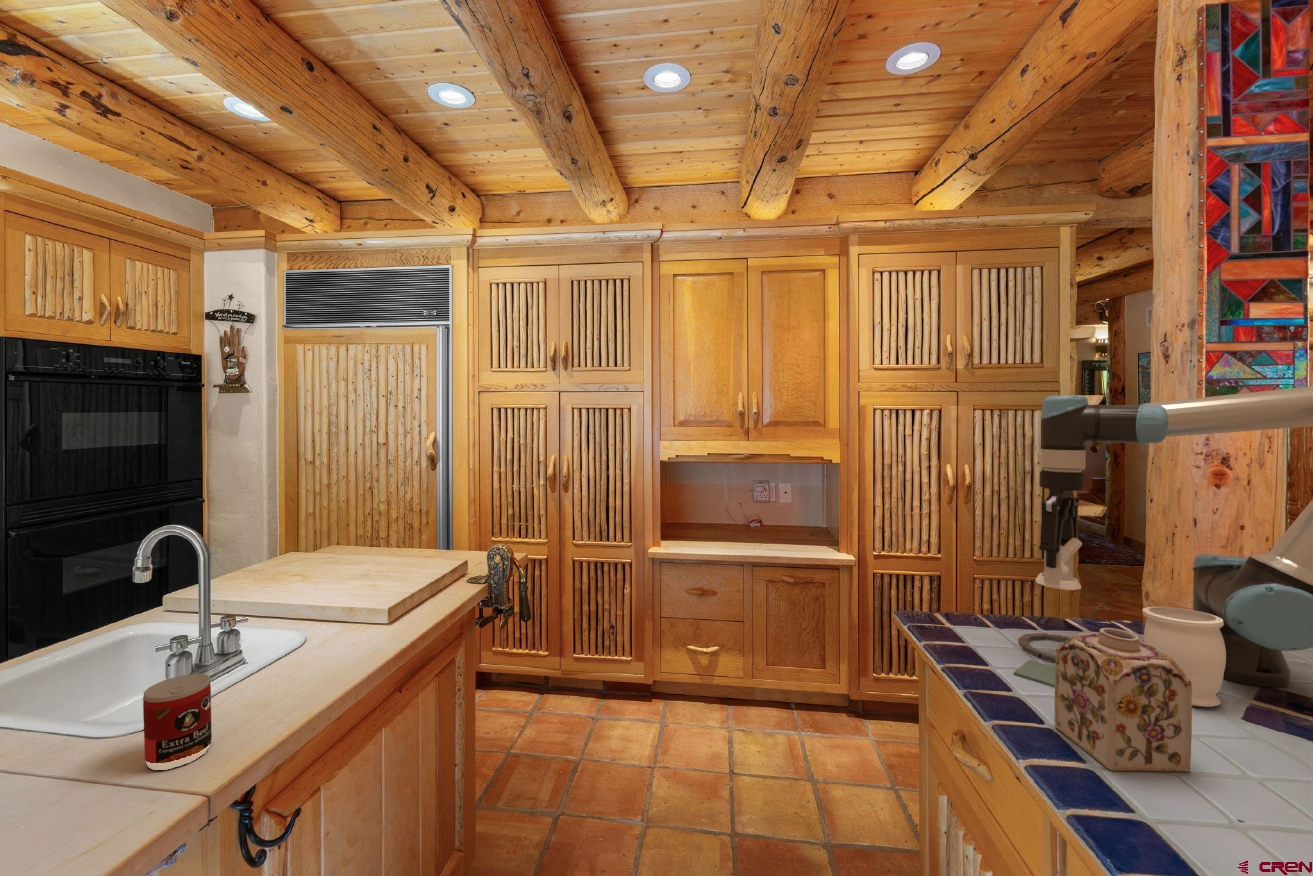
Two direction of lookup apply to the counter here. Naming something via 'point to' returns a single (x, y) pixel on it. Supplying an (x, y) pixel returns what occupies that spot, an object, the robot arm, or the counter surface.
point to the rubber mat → (1037, 672)
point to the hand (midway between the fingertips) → (1058, 579)
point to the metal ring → (1027, 638)
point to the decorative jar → (1124, 702)
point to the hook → (1064, 568)
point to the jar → (1190, 647)
